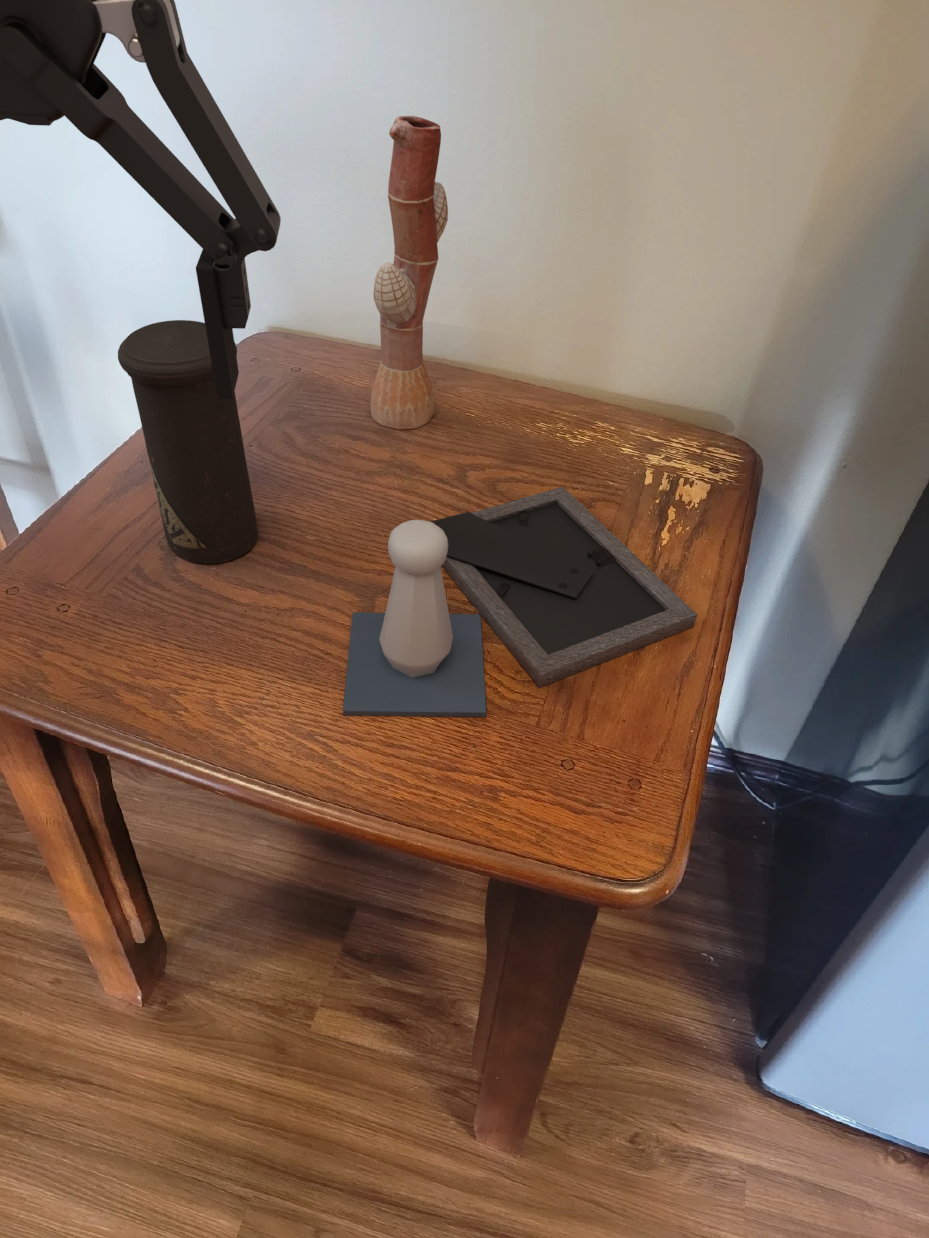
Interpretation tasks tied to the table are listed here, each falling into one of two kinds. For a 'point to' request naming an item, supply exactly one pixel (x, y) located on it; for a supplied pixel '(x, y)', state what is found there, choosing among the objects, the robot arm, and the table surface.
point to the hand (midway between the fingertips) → (91, 385)
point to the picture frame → (558, 585)
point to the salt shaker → (417, 600)
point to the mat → (397, 694)
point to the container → (191, 442)
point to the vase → (408, 275)
